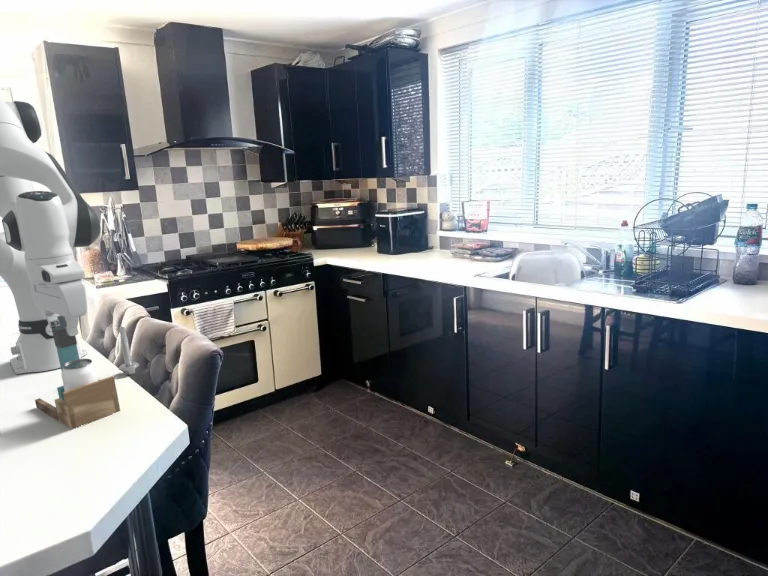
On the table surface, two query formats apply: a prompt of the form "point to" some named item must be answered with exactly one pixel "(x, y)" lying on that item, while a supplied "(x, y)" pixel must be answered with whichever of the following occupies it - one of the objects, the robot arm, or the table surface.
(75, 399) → the wooden box
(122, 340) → the screw
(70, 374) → the can
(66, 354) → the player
